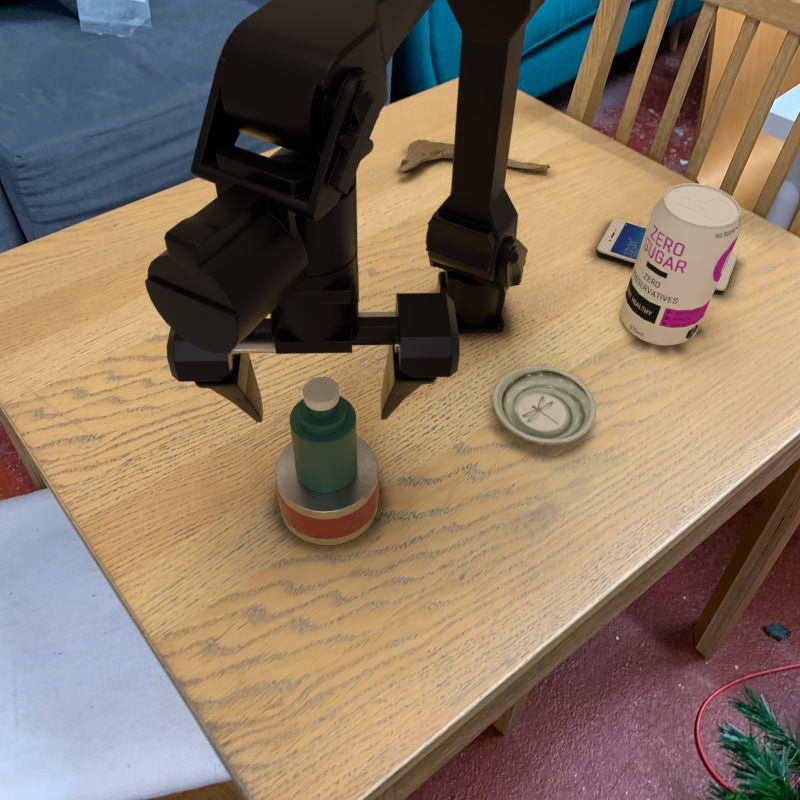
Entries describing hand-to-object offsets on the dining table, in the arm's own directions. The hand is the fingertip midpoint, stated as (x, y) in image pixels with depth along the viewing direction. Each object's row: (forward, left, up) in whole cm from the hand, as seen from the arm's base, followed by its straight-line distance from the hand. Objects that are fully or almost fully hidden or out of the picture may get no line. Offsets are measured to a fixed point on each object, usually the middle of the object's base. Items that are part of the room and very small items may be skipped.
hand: (322, 416), depth 57 cm
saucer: (-20, -9, -12) cm, 25 cm away
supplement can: (-35, -22, -12) cm, 43 cm away
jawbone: (-18, -51, -12) cm, 55 cm away
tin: (0, 0, -12) cm, 12 cm away
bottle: (0, 0, -7) cm, 7 cm away
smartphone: (-39, -33, -12) cm, 52 cm away
